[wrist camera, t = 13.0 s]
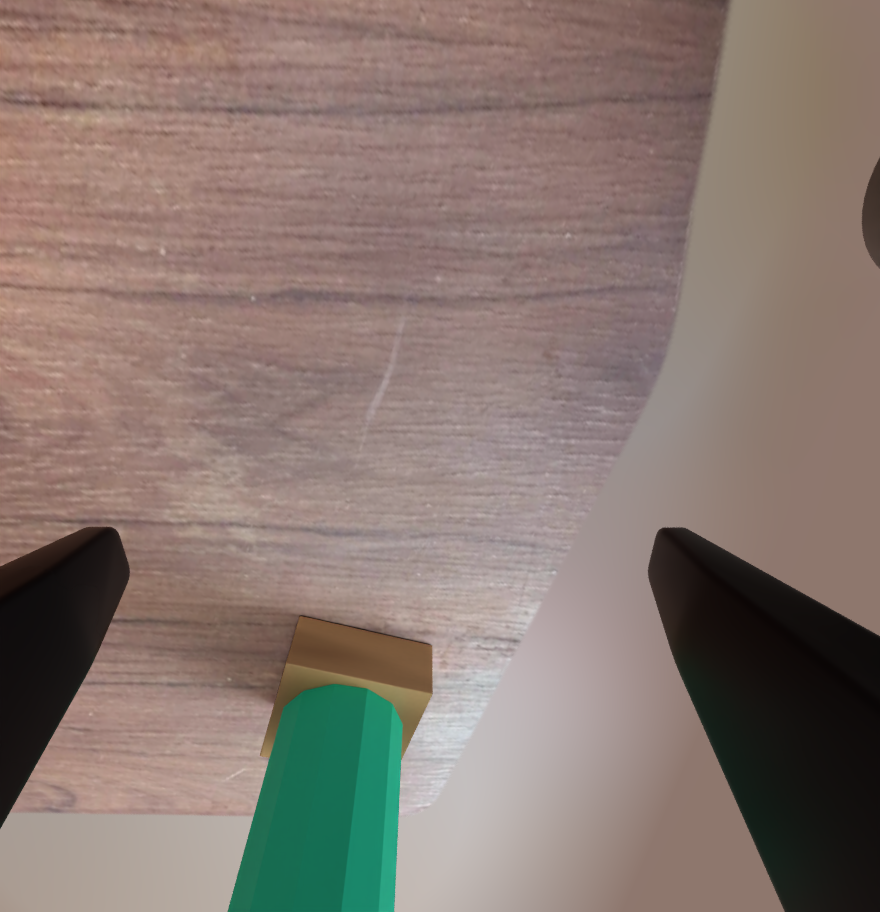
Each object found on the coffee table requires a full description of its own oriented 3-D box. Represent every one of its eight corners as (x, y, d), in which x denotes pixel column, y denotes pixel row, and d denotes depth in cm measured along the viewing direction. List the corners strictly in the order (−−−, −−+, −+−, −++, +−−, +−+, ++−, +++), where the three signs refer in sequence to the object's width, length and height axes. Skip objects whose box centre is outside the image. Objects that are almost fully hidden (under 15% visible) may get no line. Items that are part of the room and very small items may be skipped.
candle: (370, 776, 28) (335, 1142, 17) (261, 743, 27) (150, 1119, 16) (424, 708, 26) (421, 1083, 15) (307, 667, 24) (213, 1049, 14)
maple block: (395, 728, 31) (392, 780, 28) (274, 704, 30) (259, 756, 27) (432, 645, 28) (433, 694, 25) (299, 615, 27) (285, 663, 24)
